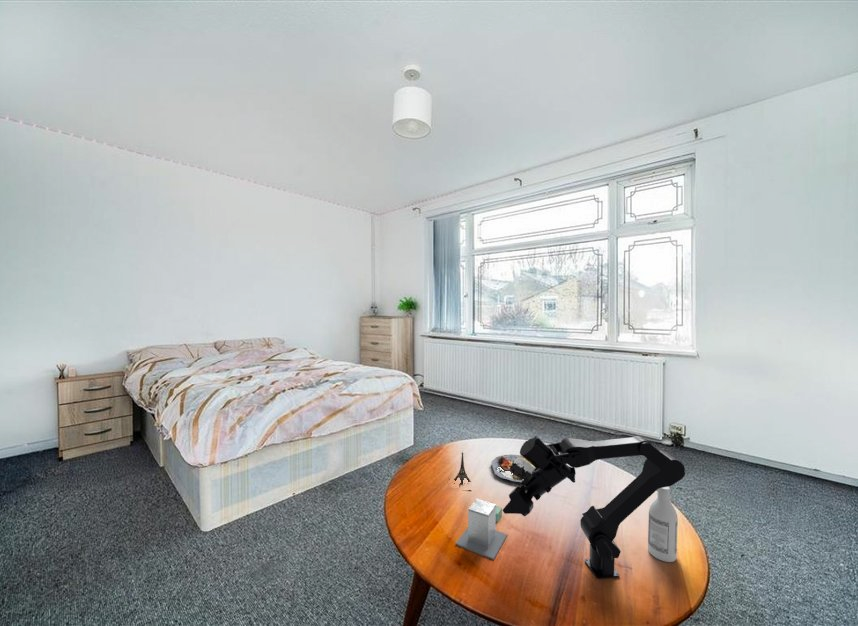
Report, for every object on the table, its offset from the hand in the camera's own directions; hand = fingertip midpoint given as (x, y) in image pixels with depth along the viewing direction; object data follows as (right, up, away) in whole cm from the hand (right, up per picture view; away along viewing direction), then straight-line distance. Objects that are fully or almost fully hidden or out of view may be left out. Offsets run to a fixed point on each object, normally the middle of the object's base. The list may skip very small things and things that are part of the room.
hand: (509, 504), depth 102 cm
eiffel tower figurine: (-11, -13, +40) cm, 43 cm away
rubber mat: (-8, -13, +4) cm, 16 cm away
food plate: (+16, -13, +48) cm, 52 cm away
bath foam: (+44, -14, -1) cm, 46 cm away
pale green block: (-2, -13, +16) cm, 21 cm away
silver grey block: (-8, -13, +4) cm, 15 cm away
